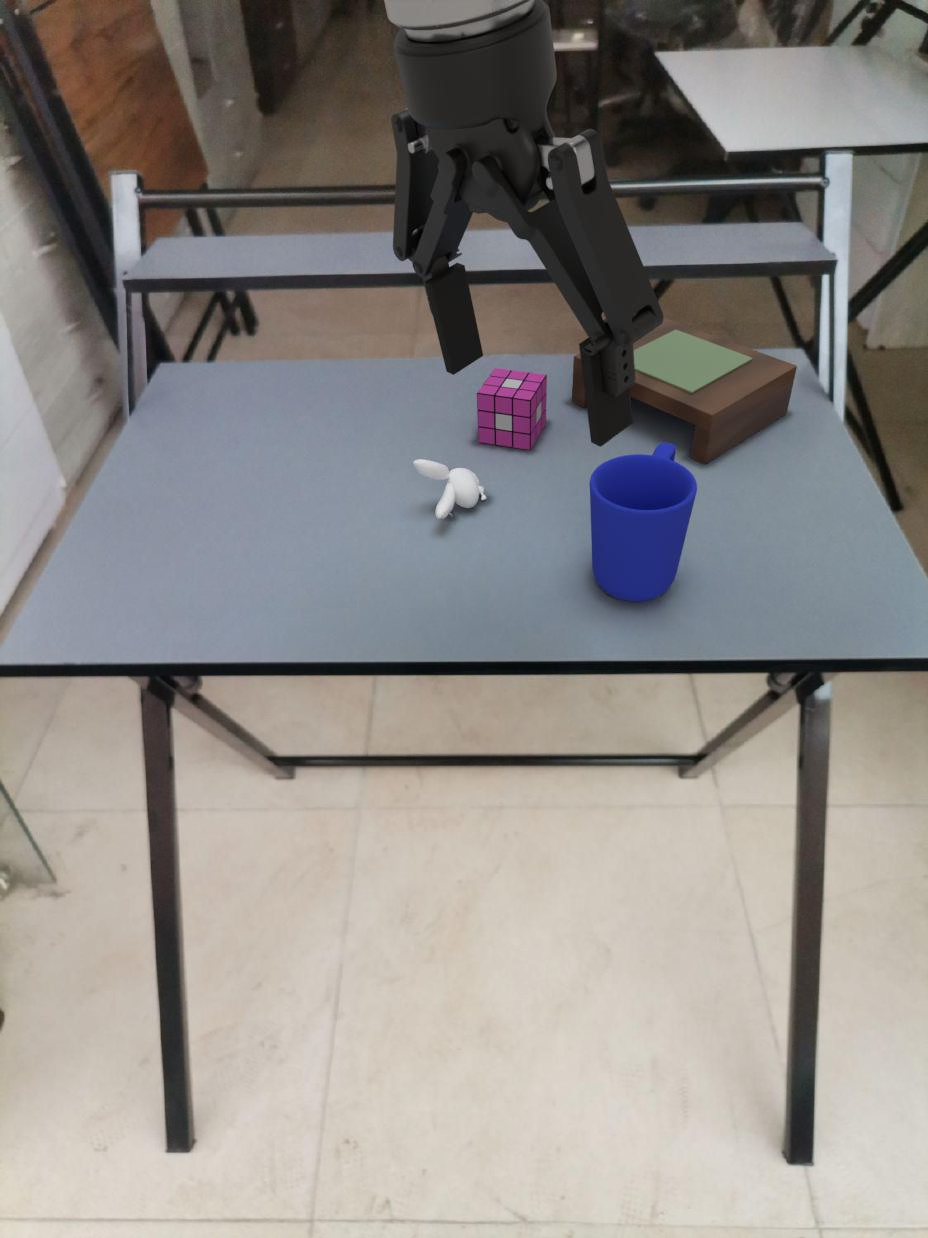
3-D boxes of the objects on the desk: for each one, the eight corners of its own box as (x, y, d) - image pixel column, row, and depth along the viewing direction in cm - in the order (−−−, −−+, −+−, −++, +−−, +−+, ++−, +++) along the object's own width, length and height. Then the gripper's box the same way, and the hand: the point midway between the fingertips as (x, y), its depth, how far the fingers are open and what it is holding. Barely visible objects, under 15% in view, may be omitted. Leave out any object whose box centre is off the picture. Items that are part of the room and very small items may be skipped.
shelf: (787, 413, 98) (797, 363, 94) (705, 464, 91) (713, 413, 87) (654, 360, 108) (658, 313, 104) (571, 402, 101) (573, 354, 97)
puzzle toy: (478, 442, 96) (476, 392, 92) (495, 416, 100) (494, 367, 96) (530, 450, 94) (530, 400, 90) (546, 423, 98) (547, 374, 94)
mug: (703, 538, 82) (719, 440, 75) (667, 623, 74) (682, 521, 67) (614, 519, 85) (622, 423, 78) (570, 598, 77) (575, 499, 70)
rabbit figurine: (505, 508, 87) (447, 509, 81) (478, 529, 89) (420, 531, 83) (480, 454, 88) (422, 451, 82) (454, 476, 91) (396, 474, 85)
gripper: (268, 21, 49) (373, 365, 65) (605, 69, 34) (640, 504, 49) (377, -26, 52) (454, 315, 67) (737, -2, 37) (732, 433, 52)
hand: (533, 396), depth 58 cm, fingers open, 13 cm apart
